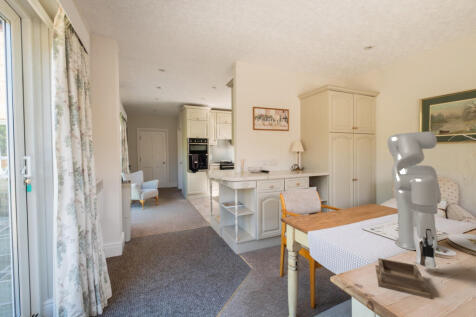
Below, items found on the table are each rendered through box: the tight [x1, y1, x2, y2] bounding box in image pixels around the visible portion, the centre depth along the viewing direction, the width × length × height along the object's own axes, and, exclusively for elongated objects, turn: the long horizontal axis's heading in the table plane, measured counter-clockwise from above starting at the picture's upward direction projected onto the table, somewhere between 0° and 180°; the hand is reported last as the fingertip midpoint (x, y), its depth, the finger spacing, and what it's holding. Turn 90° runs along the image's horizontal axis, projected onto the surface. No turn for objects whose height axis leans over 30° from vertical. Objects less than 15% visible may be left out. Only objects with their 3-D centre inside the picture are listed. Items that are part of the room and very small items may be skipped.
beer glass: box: [413, 224, 438, 269], centre depth 81 cm, size 7×7×15 cm
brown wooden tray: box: [375, 257, 432, 300], centre depth 75 cm, size 14×14×5 cm
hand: (425, 252), depth 81 cm, fingers closed on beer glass, 6 cm apart
